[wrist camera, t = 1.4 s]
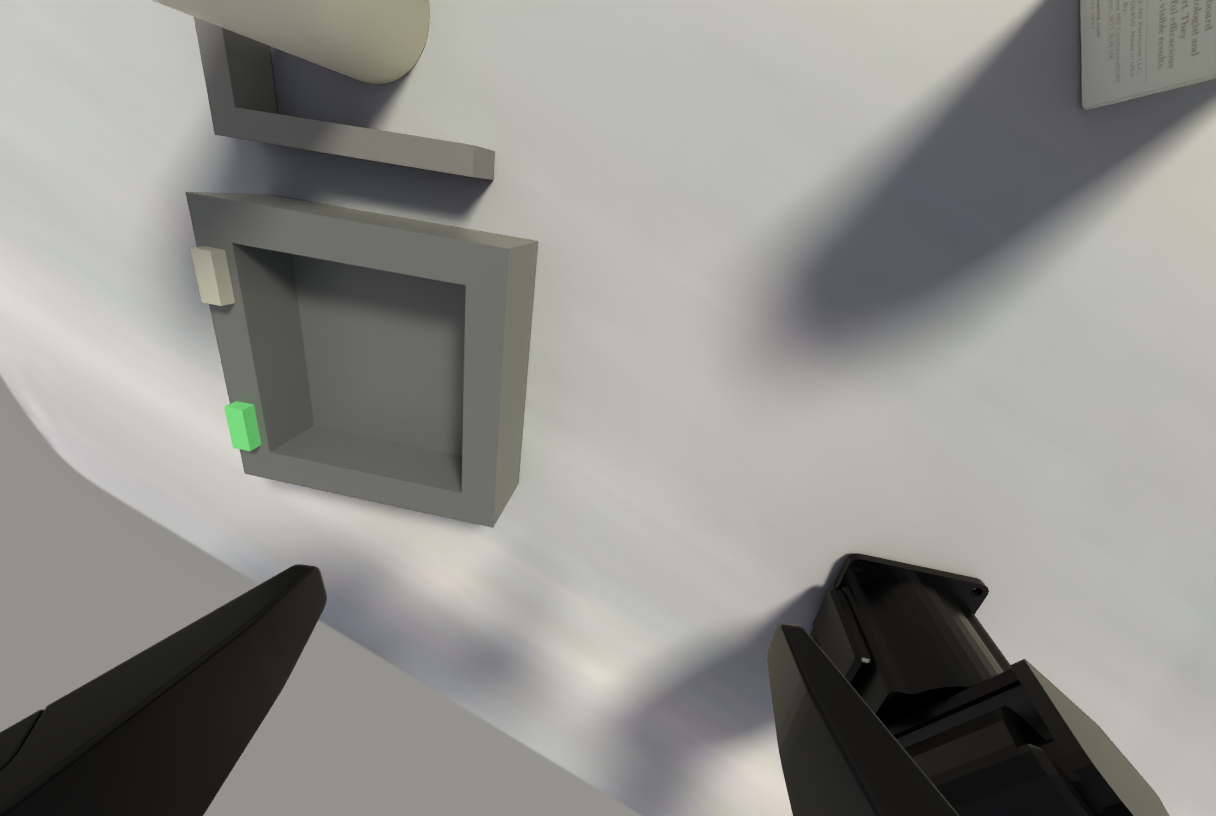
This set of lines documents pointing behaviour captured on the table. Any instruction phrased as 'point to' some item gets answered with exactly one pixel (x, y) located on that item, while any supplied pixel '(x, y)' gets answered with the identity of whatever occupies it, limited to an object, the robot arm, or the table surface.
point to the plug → (328, 31)
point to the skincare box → (1144, 47)
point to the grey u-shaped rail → (251, 114)
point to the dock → (369, 350)
